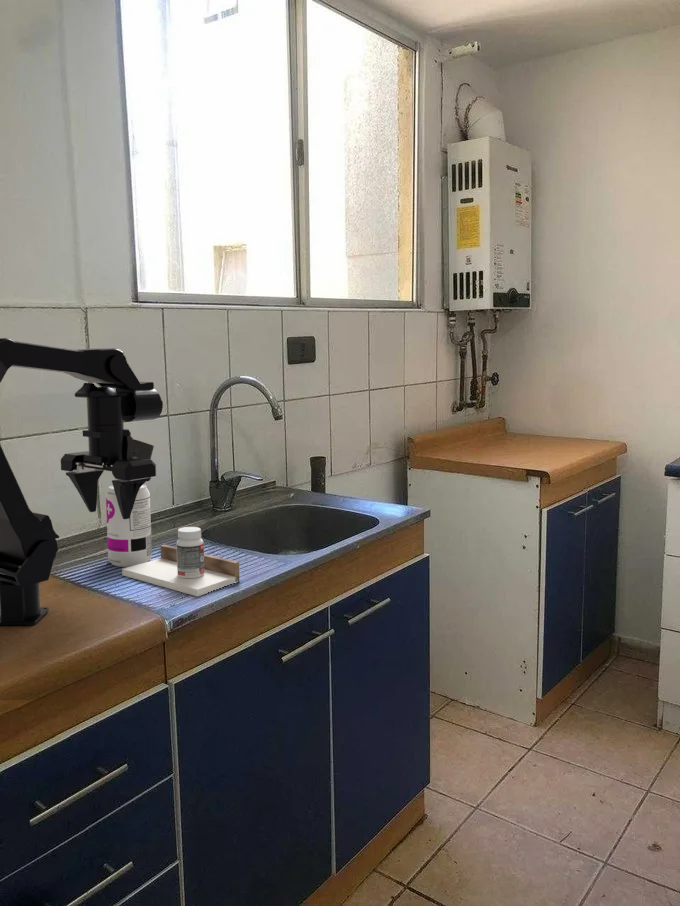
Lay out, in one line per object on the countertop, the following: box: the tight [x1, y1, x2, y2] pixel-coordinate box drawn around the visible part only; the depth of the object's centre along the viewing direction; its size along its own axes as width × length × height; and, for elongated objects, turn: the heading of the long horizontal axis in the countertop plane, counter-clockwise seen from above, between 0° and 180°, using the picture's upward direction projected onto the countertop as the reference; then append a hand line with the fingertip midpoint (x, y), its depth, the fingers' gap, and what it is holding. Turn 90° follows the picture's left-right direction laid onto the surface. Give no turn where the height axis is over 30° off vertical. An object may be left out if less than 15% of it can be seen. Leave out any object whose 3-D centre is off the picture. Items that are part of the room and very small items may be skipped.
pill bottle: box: [175, 526, 205, 578], centre depth 129 cm, size 5×5×8 cm
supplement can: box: [105, 483, 153, 568], centre depth 141 cm, size 8×8×15 cm
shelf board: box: [121, 544, 240, 597], centre depth 131 cm, size 20×10×4 cm, turn 54°
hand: (109, 515), depth 124 cm, fingers open, 9 cm apart
